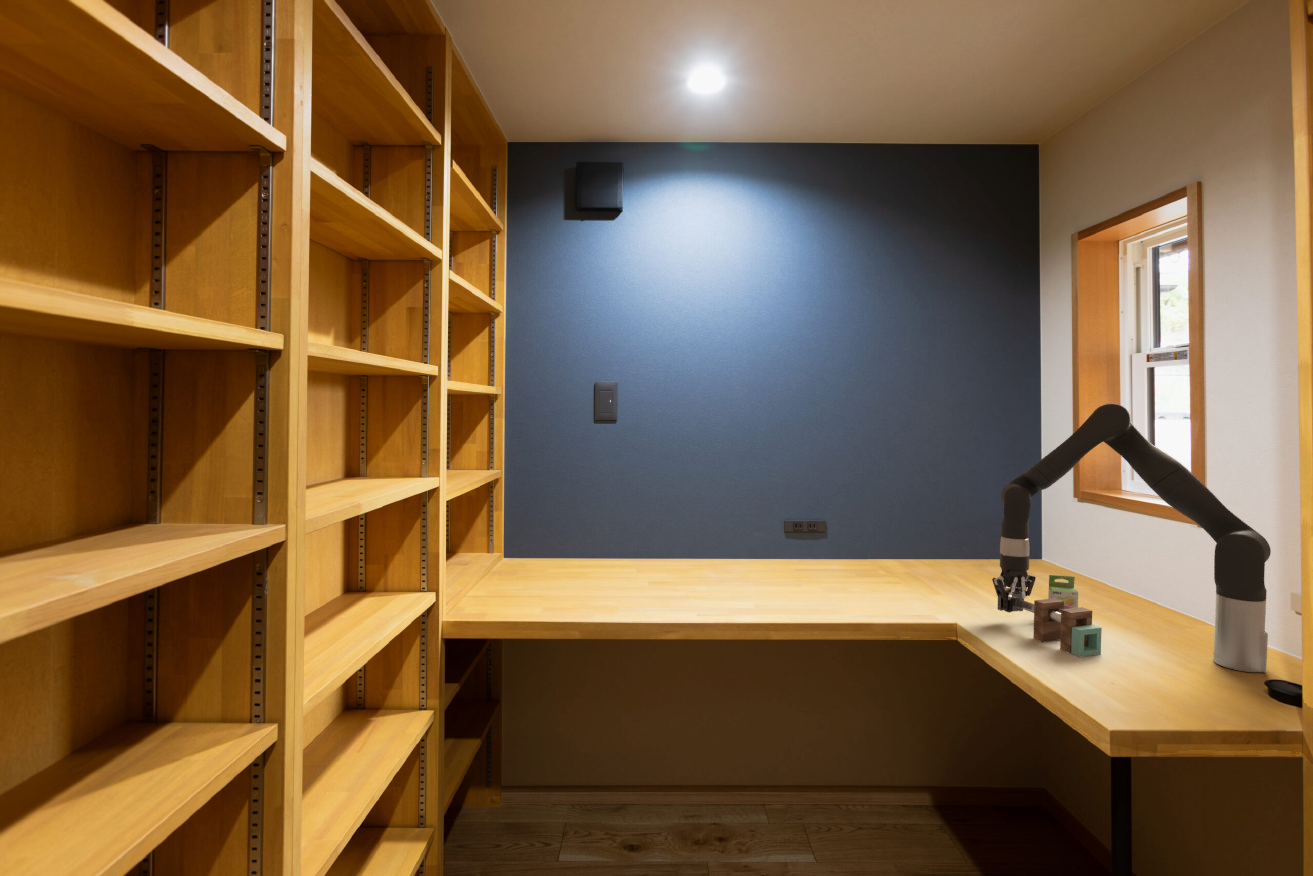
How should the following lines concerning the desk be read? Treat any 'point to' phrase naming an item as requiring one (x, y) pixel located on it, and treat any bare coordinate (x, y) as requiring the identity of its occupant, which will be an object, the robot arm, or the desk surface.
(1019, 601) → the shaft
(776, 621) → the desk surface
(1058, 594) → the ink box
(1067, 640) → the bearing blocks
